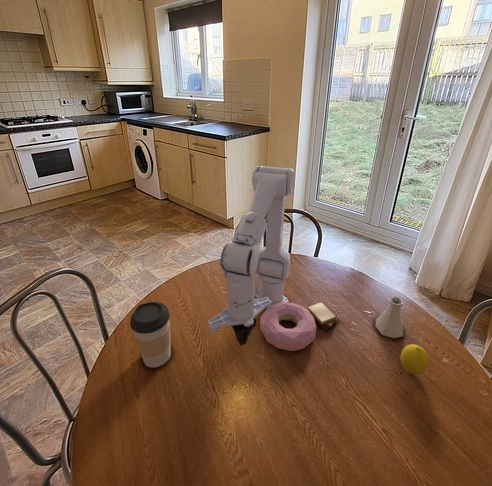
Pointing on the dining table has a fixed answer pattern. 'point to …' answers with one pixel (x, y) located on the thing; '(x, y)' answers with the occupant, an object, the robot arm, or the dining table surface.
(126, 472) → the dining table surface
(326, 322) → the letter pile
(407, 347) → the lemon
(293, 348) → the donut
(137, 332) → the coffee cup
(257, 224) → the robot arm
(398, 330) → the flask
